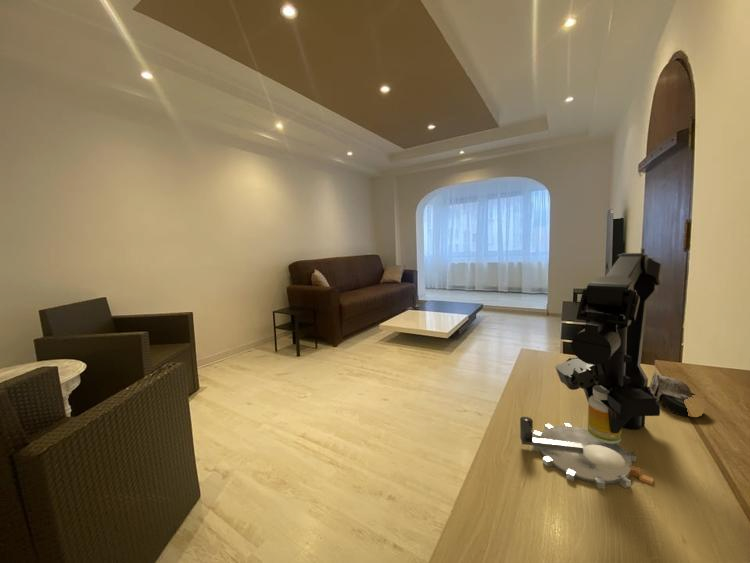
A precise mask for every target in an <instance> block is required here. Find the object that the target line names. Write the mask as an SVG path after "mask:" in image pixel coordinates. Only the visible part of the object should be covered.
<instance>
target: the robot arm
mask: <svg viewBox="0 0 750 563" xmlns="http://www.w3.org/2000/svg"><path fill="white" fill-rule="evenodd" d="M615 260H616V261H615V262H614V263H613V265H612V267H611V268H610V270H609V271H608V272H607V274H606V275H605V276H601V277H597V278H594V279H592V280H591V281H590V282H589V283H588V284H587V285H586V286H585V287H584V288H583V289H582V293H581V297H580V302H579V305H578V310H577V314H576V316H575V318H576V320H578V321H585V324H584V328H583V329H582V330H581V331H579V332H577V334H575V335H574V336H573V337H572V341H571V343H570V344H571V349H572V353H573V354H574V355H575V357H569V358H568V359H567V360H566V361H564V362H562V363H559V364H557V365H556V366H555V369H556V373H557V376H558V378H559V380H560V382H561V383H563V384H564V386H566V387H567V388H568V389H569V390H571V391H574V390H575V391H576V390H579V389H582V390H583V391H584V394H585V397H586V400H587V402H588V401H589V398H590V397H591V396H592V395H593V387H594V386H596V385H598V386H600V387H602V388H603V389H604V390H608V391H610V392H609V393H608V394H607V400H600V401H601V402H602V403H603V404H604V405H605V406H607V407H608V415H609V426H610V431H611V433H618V432H619V431H620V430H621V429H622V430H623V429H626V430H630V431H637V430H641V429H642V428H644V427H645V423H646V421H645V420H646V417H660V415H661V406H662V405H661V404H662V403H661V402H659V401H658V400H657V398H656V397H655V396H653V394H652V393H651V389H650V387H649V386H648V384H649V382H648V381H649V378H648V377H647V374H646V373H645V371H644V369H643V367H642V366H641V363H642V362H641V361H642V352H643V343H644V336H645V328H646V327H645V326H646V318H647V317H646V316H647V310H648V309H647V307H648V303H649V302H650V301H651V300H652V299H654V297H655V296H657V294H658V291H659V286H662V285H663V279H664V270H663V268H662V264H661V263H660V262H658V261H655V260H653V259H652V258H649V255H648V254H646V253H642V252H625V253H624V252H623V253H619V254H617V255H616V259H615Z"/></svg>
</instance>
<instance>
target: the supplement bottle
mask: <svg viewBox="0 0 750 563" xmlns="http://www.w3.org/2000/svg"><path fill="white" fill-rule="evenodd" d="M609 392H610V391H608V390H604V389H603V388H602V387H600V386H598V385H596V386H594V387H593V395H592V396H591V397H590V398H589V401H587V403H588V404H587V405H588V406H587V407H588V408H587V429H588V433H589V434H590V435H591V436H592V437H593V438H595V439H596V440H598V441H601V442H604V443H610V444H614V443H618V442H619V443H620V442H621V441H622V430H623V428H622V429H621V430H620V431H619V432H618V433H611V431H610V426H609V415H608V407H607V406H605V405H604V404H603V403H602V402H601V401H600V400H607V394H608V393H609Z"/></svg>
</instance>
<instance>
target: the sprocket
mask: <svg viewBox="0 0 750 563" xmlns="http://www.w3.org/2000/svg"><path fill="white" fill-rule="evenodd" d="M533 422H534V421H533V419H532V418H531V417H528V416H521V417H520V419H519V423H520V424H519V425H520V426H519V427H520V428H519V429H520V436H519V437H520V442H521V445H527V446H528V445H529V446H532V450H533V452H539V453H540V454H541V456H542V464H543V465H544V466H545V467H547V468H549V467H554V468H556V469H557V470H558V471H560V472H562V473H564V474H565V479H566V480H568V481H570V482H575V479H577V480H581V481H584V482H587V483H588V482H589V483H591V484H595V487H596V489H599V490H606V485H615V484H619V485H620V486H622V487H623V488H624V489H627V488H630V487H631V486H632V485H631V482H632V481H631V479H629V478H630V476H634V477H636V478H638V479H639V477H640V473H641V468H640V467H638V466H635V465H633V464H632V462H633V463H636V462H637V456H636V454H635V453H634V452H633V451H632V452H631V451H626V450H625V449H623V447H622V446H620V442H618V443H614V444H610V443H604V442H601V441H598V440H596V439H595V438H593V437H592V436H591V435H590V434H589V433H588V428H587V429H586V428H581V427H578V426H577V427H576V426H572V425H571V423H569V422H564V423H563V425H557V426H553V425H551V424H550V423H547V424H545V425H544V430H542V432H540V431H537V430H533V428H534V427H533V424H534V423H533Z"/></svg>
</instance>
